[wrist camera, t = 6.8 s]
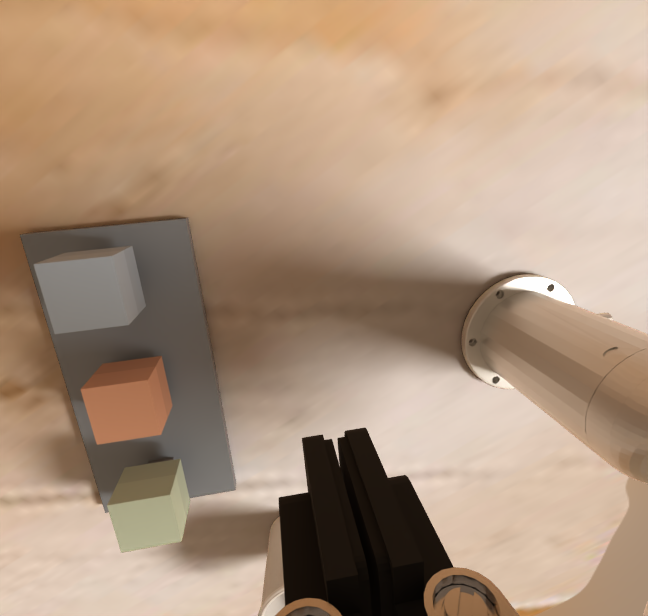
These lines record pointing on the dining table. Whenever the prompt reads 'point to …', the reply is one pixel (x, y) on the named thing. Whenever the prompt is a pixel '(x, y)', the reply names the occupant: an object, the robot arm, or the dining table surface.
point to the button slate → (91, 289)
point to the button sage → (150, 505)
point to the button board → (148, 354)
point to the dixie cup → (273, 575)
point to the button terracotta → (127, 400)
